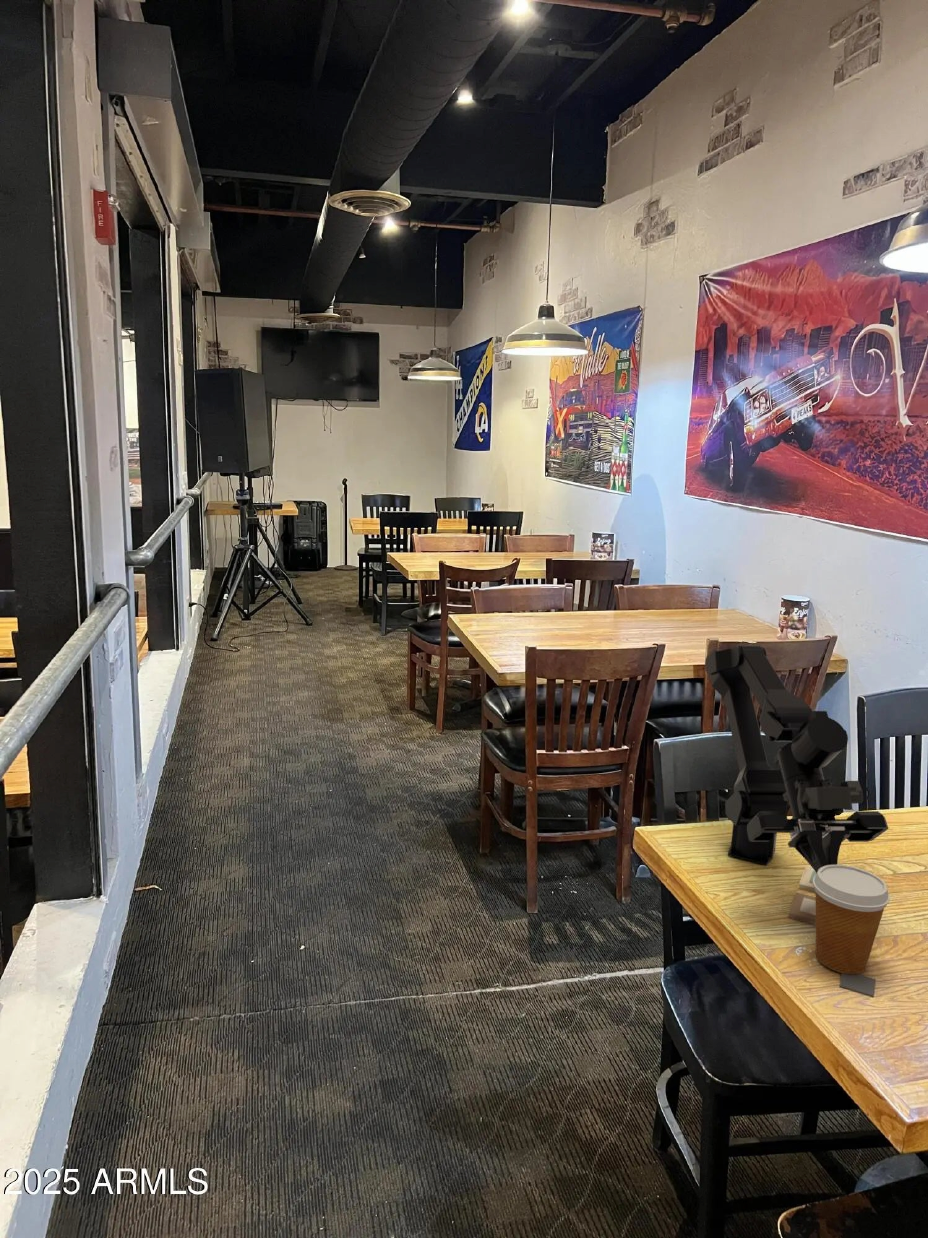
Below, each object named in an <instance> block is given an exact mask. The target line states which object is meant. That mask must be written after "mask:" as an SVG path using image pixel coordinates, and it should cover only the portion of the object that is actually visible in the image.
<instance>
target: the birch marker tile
mask: <svg viewBox="0 0 928 1238" xmlns="http://www.w3.org/2000/svg"><path fill="white" fill-rule="evenodd" d="M816 874H817V873H816V872H815V870H814V869H813V868H812V866H810V865H805V867H804V870H803V872H802V875H801V878H800V881H799V883H798V889H799V890H803V891H808V892H811V893H816V891H815V889H814V885H813V877H814V876H815V875H816Z"/></svg>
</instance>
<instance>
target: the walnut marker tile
mask: <svg viewBox="0 0 928 1238" xmlns="http://www.w3.org/2000/svg"><path fill="white" fill-rule="evenodd" d="M815 898H816V896H812V895H808V894H805V893H801V892H798V891H796V892H795V895H794V898H793V900H792V903H791V905H790V908H789V911H788V916H787V917H788V918H789V919H792V920H796V921H800V922H803V923H806V924H809V925H813V926H816V904H815V902H816V900H815Z"/></svg>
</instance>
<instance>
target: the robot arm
mask: <svg viewBox="0 0 928 1238" xmlns="http://www.w3.org/2000/svg"><path fill="white" fill-rule="evenodd" d="M704 662H705V663H704V669H705V671H706V674H707V675H708V677H709V680H710V683H711V687H712V688H713V689H714V690H715V691H716V692H717V693H719V695H720V696H721V697H722V698H723V701H724V705H725V709H726V714H727V719H728V723H729V729H730V733H731V738H732V742H733V746H734V750H735V756H736V760H737V764H738V765H737V766H738V769H739V773H738V776H737V778H736V780H735V783H734V786H733V793H732V795H731V796H730V797H729V798H728V799H727V800H726V801H725V816H726V817H727V818H728V819H729V820H730V821H731V823H732V833H731V842H730V848H729V850H728V852H727V855H728V857H733V858H736V859H739V860H745V861H749V862H751V863H756V864H760V865H763V866H767V865H768V863H769V862H770V860H771V859H773V858H774V854H775V852H776V847H777V844H776V843H777V837H778V836H777V835H778V834H780V833H782V834H785V833H788V834H789V836H790V840H789V841H788V842H787V846H788V847H789V848H793V849H795V850H796V852H797V853H799V854H800V855H801V856H802V857H803V858H804V860H805V861H806V862H807V863H808V864H809V866H810V867H812V868H813V869H814V870H815V872H816V873H817V872H818V870H819V869H820V868H821V867H823V866H826V865H838V860H839V859H838V858H839V853H840V850H841V849H840V848H841V845H842V843H843V842H844V841H846V840H847V841H848V842H850V843H855V842H856V843H867V842H872V841H874V840H875V839H877V838H878V837H879V836H881V835H883V833H885V832H886V831H887V830H889V825H888V823H887V819H886V817H885V816H884V814H882V813H881V812H880V811H878V810H877V811H874V810H873V811H872V810H870V811H869V810H868V811H865V810H863V811H862V810H861V811H860V810H859V811H858V810H856V811H855V812H853V813H852V814H851V815H849V816H848V817H847V818H841V819H840V818H836V816H840V815H842V814H843V813H844V812H843V810H845V811H852V810H853V804H854V805H855V804H857V805H858V804H863V801H864V795H863V794H864V793H863V789H862V787H861V784H860V782H859V780H843V781H841V783H840V786H833V784H832V782H831V781H830V779H825V777H824V773H823V769H822V768H824V767H827V765H829V764H830V763H831V761H833V760H834V759H835V758H836V757H837V756H838V755H839V754H840V753H841V752H842V751H843V750H845V748H846V747H847V745H848V742H849V736H848V733H847V731H846V729H844V727H843V725H842V724H840V723H839V722H838V721H837V720H835V719H833V718H831V717H829V715H828V711H827V710H813V709H812V707H811V706H810V705H808V703H807V702H806V701H805V700H804V699H803V698H801V697H800V696H797V695H795V694H793V693H791V692H790V691H789V690H788V689H787V687H786V686H785V684H784V682H783V681H782V680H781V678H780V676H779V674H778V673H777V671H776V670H775V669H774V667H773V665H772V664H771V662H770V661H769V659H768V657H767V651H766V648H765V647H764V646H760V645H757V644H753V645H752V644H751V645H750V644H749V645H748V644H738V645H736V646H733V647H730V648H727V649H713V650H712V651H711V653H710V654H708V655H707V656H706V658H705V661H704ZM752 695H753V696H754V698H755V700H756V701H757V703H758V705H759V706H760V709H761V713H760V716H759V720H758V717H757V711H756V707H755V704H754V700H753V696H752ZM759 723H760V725H759ZM761 731H762V733H763V734H764V736H765V737H766V739H767V740H768V741H769V742H787V743H786V744H784V745H783V746H780V747H779V748H778V752H777V753H776V755H775V757H774V760H773V764H774V765H776V766H777V765H779V768H778V769H775V768H772V767H771V766H770V765H769V762H768V759H767V755H766V754H767V753H766V750H765V747H764V746H765V745H764V741H763V736H762V733H761ZM788 742H789V743H788ZM789 811H790V813H791V818H788V814H789Z"/></svg>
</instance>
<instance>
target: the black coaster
mask: <svg viewBox="0 0 928 1238" xmlns="http://www.w3.org/2000/svg"><path fill="white" fill-rule="evenodd" d="M876 981H877V979H876V978H872V977H869V976H866V975H863V974H861V973H859V974H845V973H841V978H840V982H839V988H843V989H845V990H849V991H852V992H855V993H859V994H861V995H864V996H868V997H872V998H874V996H875V988H876Z"/></svg>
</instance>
